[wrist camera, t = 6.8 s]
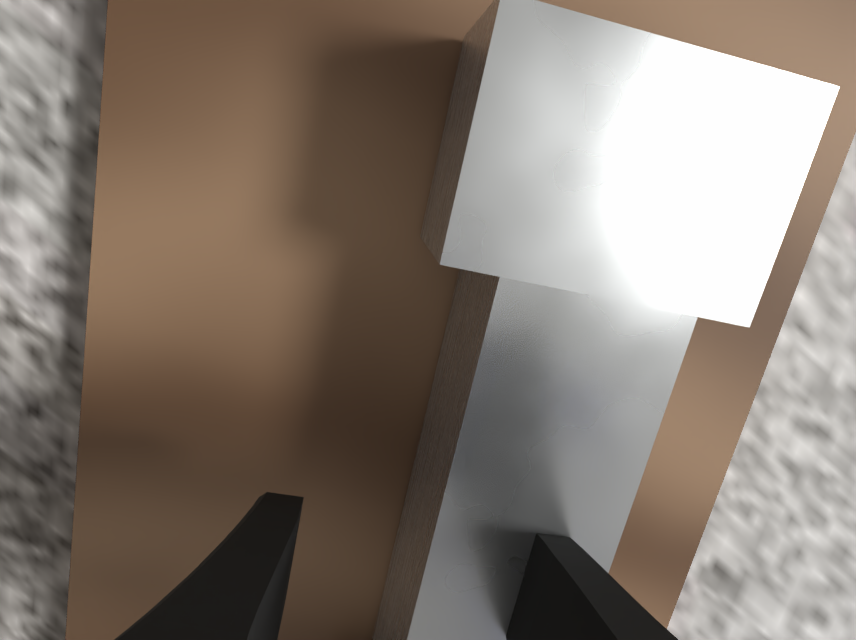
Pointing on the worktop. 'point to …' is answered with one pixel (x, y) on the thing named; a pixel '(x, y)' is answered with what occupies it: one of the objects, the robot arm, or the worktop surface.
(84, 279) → the worktop surface
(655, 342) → the grey stepped bar
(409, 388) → the rack board
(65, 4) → the worktop surface
